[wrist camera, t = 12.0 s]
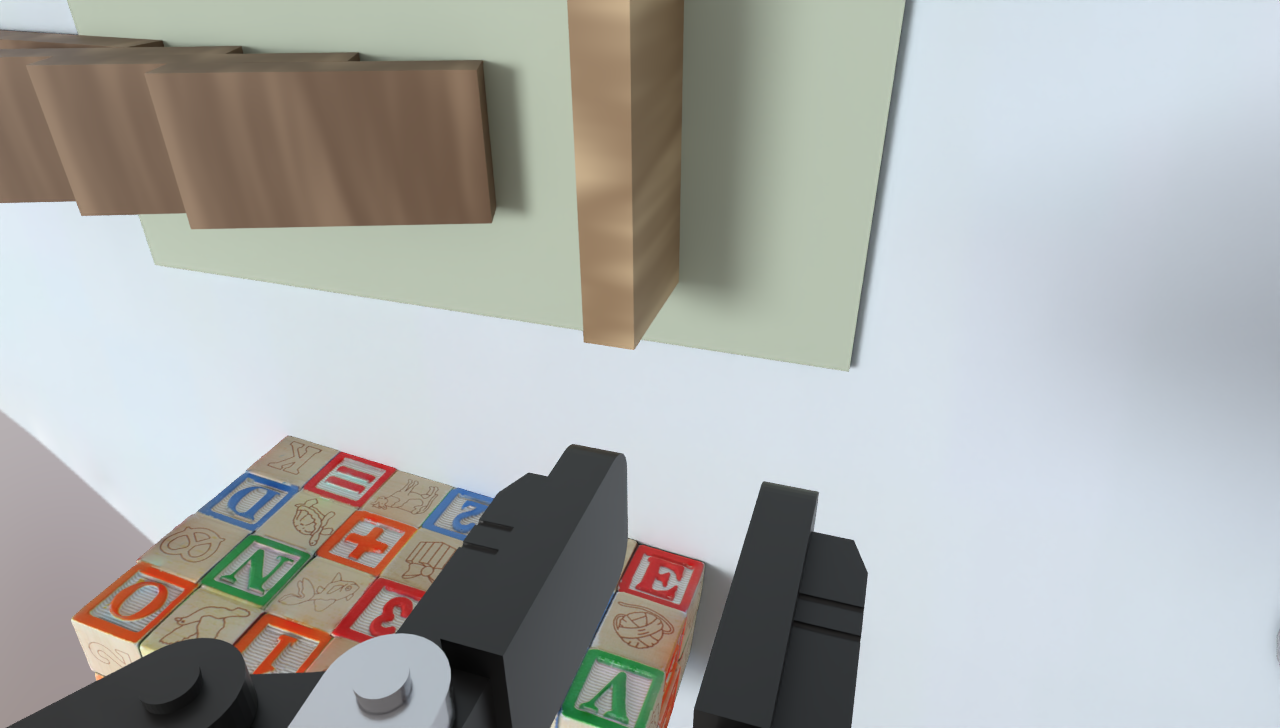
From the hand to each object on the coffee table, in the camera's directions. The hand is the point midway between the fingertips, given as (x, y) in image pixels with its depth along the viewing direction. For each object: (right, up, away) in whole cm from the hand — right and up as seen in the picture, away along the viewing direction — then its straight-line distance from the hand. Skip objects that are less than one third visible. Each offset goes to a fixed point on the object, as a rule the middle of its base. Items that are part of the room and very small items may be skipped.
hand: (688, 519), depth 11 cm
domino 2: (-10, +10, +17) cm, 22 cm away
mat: (-8, +11, +17) cm, 22 cm away
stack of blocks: (-8, -6, +28) cm, 30 cm away
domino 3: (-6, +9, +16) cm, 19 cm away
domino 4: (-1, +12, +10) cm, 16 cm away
